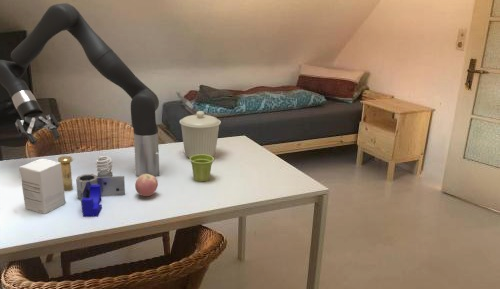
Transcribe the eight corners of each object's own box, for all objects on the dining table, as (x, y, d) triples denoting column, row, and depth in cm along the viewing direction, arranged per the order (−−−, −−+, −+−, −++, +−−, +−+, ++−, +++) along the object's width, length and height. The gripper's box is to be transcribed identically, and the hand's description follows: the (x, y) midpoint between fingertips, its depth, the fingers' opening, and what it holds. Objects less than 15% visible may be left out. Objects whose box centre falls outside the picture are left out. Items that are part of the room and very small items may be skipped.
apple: (146, 202, 149) (145, 181, 147) (130, 196, 153) (129, 175, 150) (162, 194, 156) (161, 174, 153) (147, 189, 159) (146, 169, 157)
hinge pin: (75, 186, 159) (72, 155, 156) (73, 191, 155) (70, 160, 151) (62, 186, 158) (59, 156, 155) (60, 192, 154) (56, 160, 150)
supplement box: (46, 198, 149) (41, 157, 145) (66, 203, 146) (62, 162, 141) (24, 208, 141) (18, 166, 137) (44, 214, 138) (39, 171, 133)
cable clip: (97, 217, 138) (96, 200, 137) (83, 217, 138) (81, 200, 136) (105, 200, 150) (104, 184, 148) (92, 200, 149) (91, 184, 147)
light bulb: (116, 184, 162) (114, 154, 158) (107, 190, 157) (105, 159, 153) (104, 182, 164) (102, 152, 160) (94, 187, 159) (92, 157, 155)
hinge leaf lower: (99, 191, 156) (98, 173, 154) (94, 211, 141) (92, 192, 139) (79, 192, 154) (78, 174, 152) (72, 213, 140) (70, 193, 138)
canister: (204, 147, 207) (204, 104, 201) (228, 157, 195) (229, 112, 188) (172, 154, 196) (171, 109, 189) (195, 166, 183) (195, 118, 177)
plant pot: (217, 177, 173) (218, 157, 170) (205, 185, 165) (206, 164, 162) (197, 172, 177) (197, 152, 174) (185, 180, 169) (184, 159, 166)
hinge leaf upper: (125, 190, 158) (124, 172, 156) (124, 198, 151) (123, 180, 149) (79, 192, 154) (78, 174, 152) (76, 200, 148) (75, 182, 146)
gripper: (9, 102, 153) (30, 140, 150) (48, 96, 164) (67, 131, 161) (4, 114, 158) (24, 150, 155) (42, 107, 169) (61, 142, 166)
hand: (46, 141), depth 158 cm, fingers open, 8 cm apart
